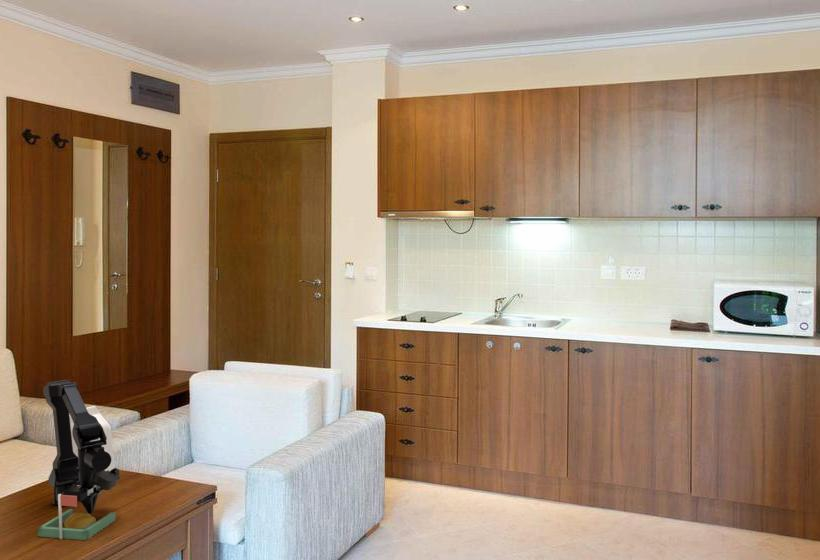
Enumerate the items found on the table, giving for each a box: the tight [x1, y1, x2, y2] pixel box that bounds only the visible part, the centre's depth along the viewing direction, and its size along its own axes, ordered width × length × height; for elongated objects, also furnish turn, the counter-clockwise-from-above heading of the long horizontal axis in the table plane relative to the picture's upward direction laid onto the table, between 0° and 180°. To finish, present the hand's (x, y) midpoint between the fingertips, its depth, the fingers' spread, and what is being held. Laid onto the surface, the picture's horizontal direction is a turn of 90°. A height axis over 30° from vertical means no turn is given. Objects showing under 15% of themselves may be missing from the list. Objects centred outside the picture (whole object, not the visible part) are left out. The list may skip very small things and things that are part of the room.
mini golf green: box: [37, 494, 116, 541], centre depth 210 cm, size 15×15×13 cm
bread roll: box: [63, 511, 97, 530], centre depth 212 cm, size 8×9×4 cm
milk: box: [70, 405, 115, 487], centre depth 251 cm, size 12×12×26 cm
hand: (90, 513), depth 217 cm, fingers closed
